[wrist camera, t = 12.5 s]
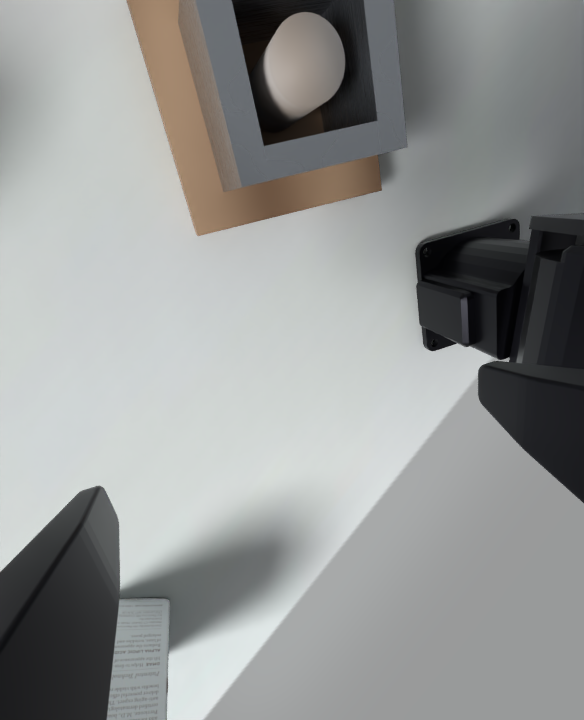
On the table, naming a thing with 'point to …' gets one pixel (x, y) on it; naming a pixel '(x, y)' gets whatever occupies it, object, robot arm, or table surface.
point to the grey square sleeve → (339, 114)
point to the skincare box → (140, 661)
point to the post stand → (274, 112)
